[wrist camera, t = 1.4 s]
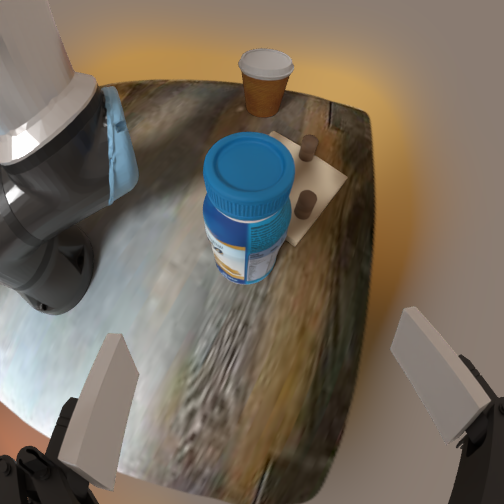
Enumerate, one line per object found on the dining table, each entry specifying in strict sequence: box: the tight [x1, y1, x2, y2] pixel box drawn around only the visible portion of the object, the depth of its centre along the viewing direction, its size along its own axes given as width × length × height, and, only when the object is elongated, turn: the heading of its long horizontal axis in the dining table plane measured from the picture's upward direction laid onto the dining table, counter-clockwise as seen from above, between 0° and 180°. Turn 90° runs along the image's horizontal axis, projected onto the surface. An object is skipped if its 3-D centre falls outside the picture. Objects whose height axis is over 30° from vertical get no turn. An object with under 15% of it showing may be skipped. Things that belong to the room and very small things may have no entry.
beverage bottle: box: [203, 132, 295, 284], centre depth 28 cm, size 8×8×20 cm
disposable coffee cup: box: [238, 49, 294, 117], centre depth 43 cm, size 10×10×12 cm
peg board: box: [269, 131, 347, 247], centre depth 39 cm, size 15×15×6 cm
